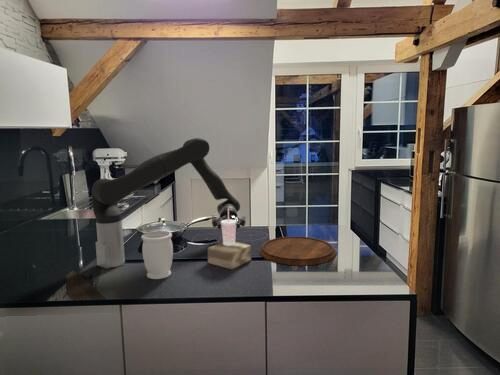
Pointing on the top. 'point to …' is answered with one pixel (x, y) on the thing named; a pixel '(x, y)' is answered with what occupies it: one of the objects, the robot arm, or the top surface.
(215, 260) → the wooden riser
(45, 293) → the top surface
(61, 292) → the top surface
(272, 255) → the cutting board
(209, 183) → the robot arm
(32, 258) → the top surface
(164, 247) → the jar
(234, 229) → the beverage cup
